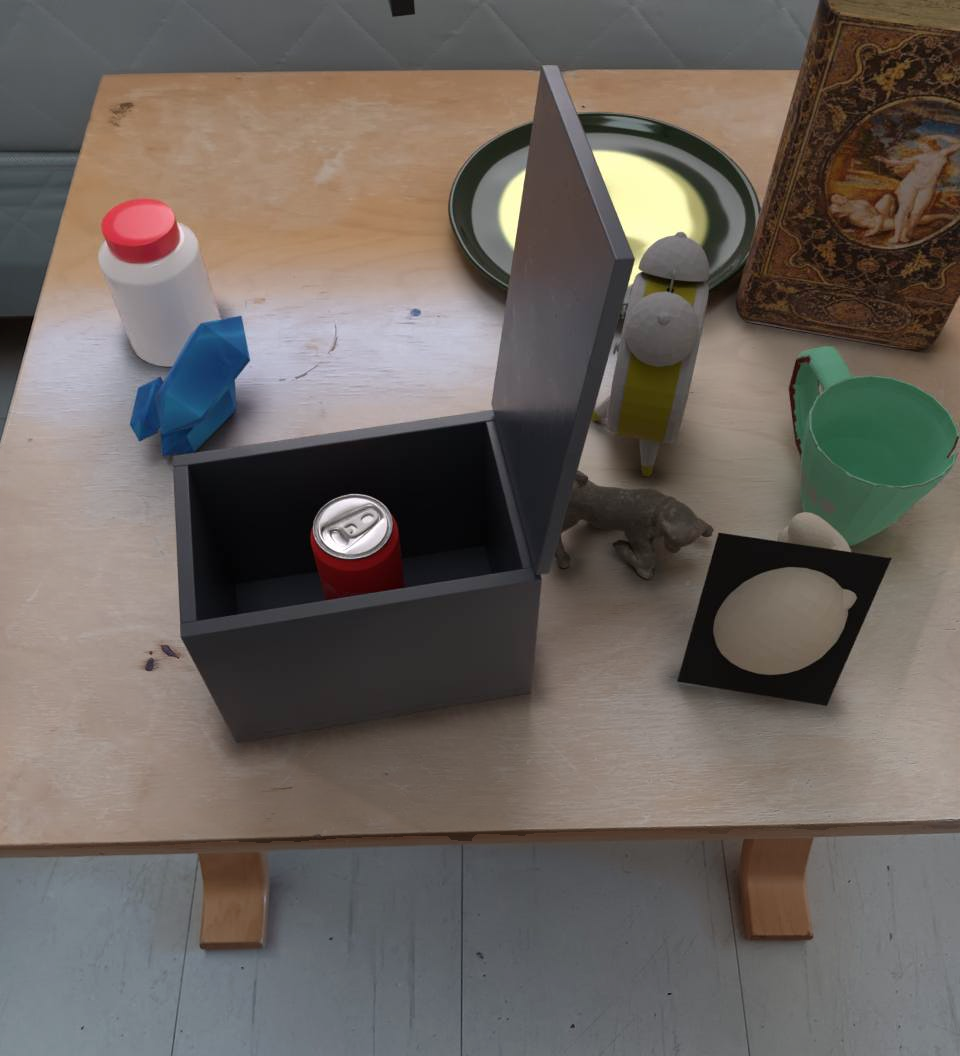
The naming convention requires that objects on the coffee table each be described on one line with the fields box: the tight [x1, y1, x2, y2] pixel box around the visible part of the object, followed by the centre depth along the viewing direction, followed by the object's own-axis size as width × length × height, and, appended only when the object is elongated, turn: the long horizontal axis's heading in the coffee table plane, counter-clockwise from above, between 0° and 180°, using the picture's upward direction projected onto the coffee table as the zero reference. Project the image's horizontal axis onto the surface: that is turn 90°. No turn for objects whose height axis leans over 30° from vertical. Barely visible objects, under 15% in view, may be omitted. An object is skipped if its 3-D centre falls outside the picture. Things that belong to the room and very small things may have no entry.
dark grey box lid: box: [490, 64, 635, 575], centre depth 49 cm, size 21×13×1 cm
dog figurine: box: [554, 469, 715, 580], centre depth 69 cm, size 12×6×7 cm, turn 74°
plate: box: [447, 111, 762, 318], centre depth 89 cm, size 28×28×2 cm
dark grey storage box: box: [172, 409, 543, 744], centre depth 63 cm, size 20×13×14 cm, turn 101°
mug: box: [788, 345, 960, 547], centre depth 71 cm, size 15×10×10 cm
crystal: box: [129, 315, 251, 457], centre depth 75 cm, size 7×9×12 cm
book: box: [735, 0, 960, 351], centre depth 74 cm, size 16×6×25 cm, turn 76°
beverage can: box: [311, 494, 405, 600], centre depth 63 cm, size 5×5×12 cm
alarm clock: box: [591, 232, 710, 477], centre depth 72 cm, size 12×7×15 cm, turn 167°
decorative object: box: [676, 511, 892, 707], centre depth 64 cm, size 13×10×10 cm
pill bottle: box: [97, 198, 222, 368], centre depth 79 cm, size 8×8×11 cm
